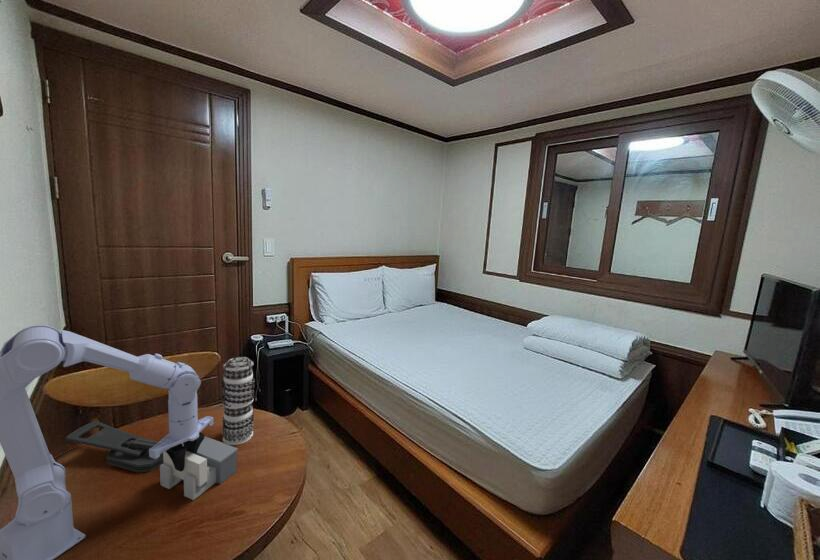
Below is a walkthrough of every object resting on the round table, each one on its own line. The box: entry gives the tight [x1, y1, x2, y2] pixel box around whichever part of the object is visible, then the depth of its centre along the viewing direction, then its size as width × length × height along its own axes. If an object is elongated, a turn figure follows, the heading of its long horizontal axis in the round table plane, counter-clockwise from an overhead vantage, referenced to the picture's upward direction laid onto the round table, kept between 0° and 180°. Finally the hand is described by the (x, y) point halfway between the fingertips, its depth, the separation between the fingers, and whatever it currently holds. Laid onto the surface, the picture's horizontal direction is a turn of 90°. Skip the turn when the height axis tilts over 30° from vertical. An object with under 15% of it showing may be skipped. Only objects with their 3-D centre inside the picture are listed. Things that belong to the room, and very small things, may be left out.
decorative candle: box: [220, 356, 256, 446], centre depth 99 cm, size 9×9×25 cm
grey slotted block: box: [159, 435, 239, 501], centre depth 84 cm, size 11×14×7 cm
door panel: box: [163, 451, 207, 487], centre depth 80 cm, size 12×2×6 cm, turn 71°
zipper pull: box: [65, 420, 164, 474], centre depth 89 cm, size 9×7×25 cm
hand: (184, 466), depth 81 cm, fingers closed on door panel, 2 cm apart
